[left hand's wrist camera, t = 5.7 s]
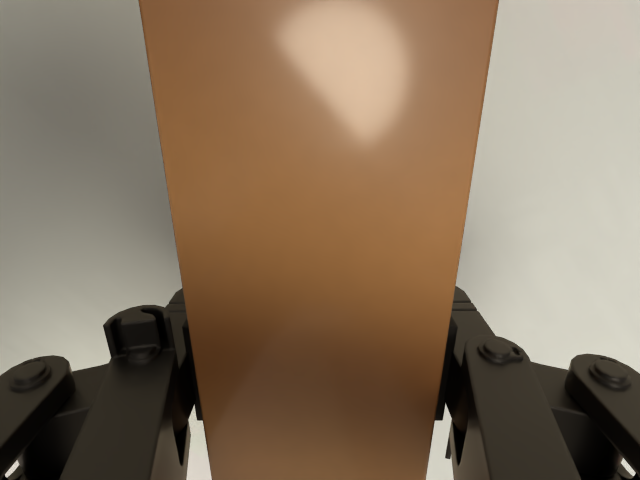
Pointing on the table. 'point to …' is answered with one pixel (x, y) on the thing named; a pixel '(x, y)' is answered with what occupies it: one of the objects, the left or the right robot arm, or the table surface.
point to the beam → (318, 219)
